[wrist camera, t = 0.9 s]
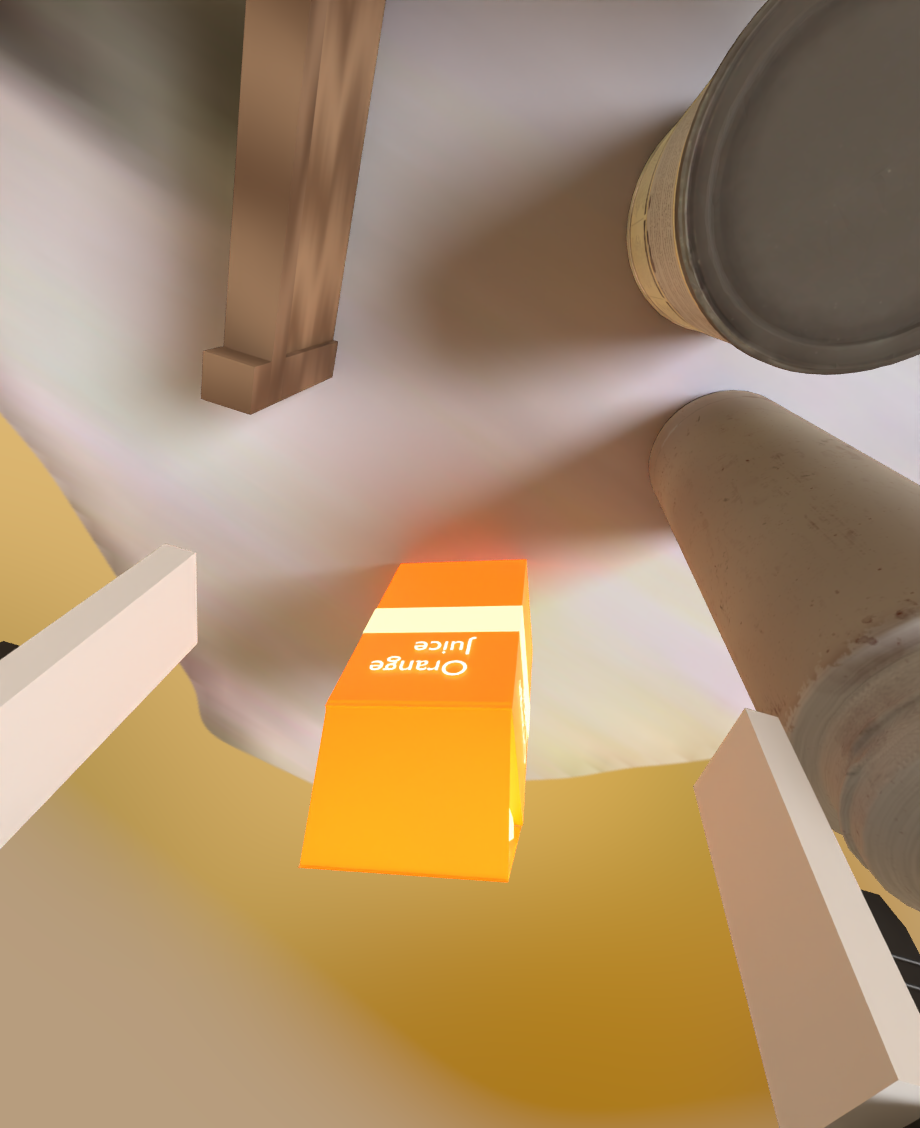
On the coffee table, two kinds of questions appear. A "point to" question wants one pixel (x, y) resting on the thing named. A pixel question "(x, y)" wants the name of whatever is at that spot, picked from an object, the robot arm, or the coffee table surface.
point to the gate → (292, 195)
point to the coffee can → (795, 192)
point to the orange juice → (429, 729)
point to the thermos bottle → (811, 604)
